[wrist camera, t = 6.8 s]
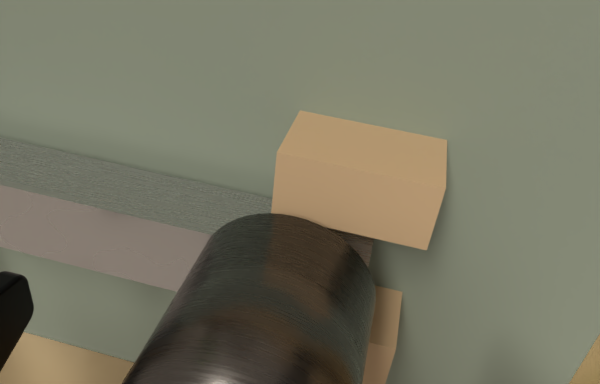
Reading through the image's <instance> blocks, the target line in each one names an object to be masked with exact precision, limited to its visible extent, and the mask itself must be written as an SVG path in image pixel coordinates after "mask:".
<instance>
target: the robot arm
mask: <svg viewBox="0 0 600 384" xmlns="http://www.w3.org/2000/svg"><path fill="white" fill-rule="evenodd" d="M33 311H34V303H33V299H32V295H31V291H30V287H29V283H28V280H27V278H26V277H25V276H24V275H21V274H17V273H13V272H9V271H2V272H0V371H1V370H2V368H3V366H4V364H5V363H6V361H7V359H8V358H9V356H10V354H11V352H12V351H13V349H14V347H15V346H16V344H17V342H18V340H19V339H20V337H21V335H22V334H23V332H24V330H25V328H26V327H27V325H28V323H29V321H30V320H31V318H32V315H33Z"/></svg>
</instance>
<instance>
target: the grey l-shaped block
mask: <svg viewBox="0 0 600 384" xmlns="http://www.w3.org/2000/svg"><path fill="white" fill-rule="evenodd" d="M271 209H272V199H271V198H267V197H262V196H258V195H254V194H249V193H245V192H240V191H236V190H231V189H227V188H222V187H218V186H214V185H209V184H205V183H200V182H196V181H191V180H187V179H182V178H178V177H174V176H169V175H165V174H160V173H156V172H151V171H147V170H142V169H138V168H134V167H129V166H125V165H120V164H116V163H111V162H107V161H102V160H98V159H94V158H89V157H85V156H80V155H76V154H71V153H67V152H62V151H58V150H54V149H49V148H45V147H40V146H36V145H31V144H27V143H22V142H18V141H14V140H9V139H5V138H0V247H3V248H7V249H11V250H15V251H19V252H22V253H26V254H30V255H34V256H38V257H42V258H46V259H50V260H54V261H58V262H62V263H66V264H70V265H74V266H77V267H81V268H85V269H89V270H93V271H97V272H101V273H105V274H109V275H113V276H117V277H121V278H125V279H129V280H132V281H136V282H140V283H144V284H148V285H152V286H156V287H160V288H164V289H168V290H172V291H176V292H177V293H176V295H175V296H174V298H173V300H172V301H171V303H170V305H169V306H168V308H167V310H166V311H165V313H164V315H163V316H162V318H161V320H160V321H159V323H158V325H157V326H156V328H155V330H154V331H153V333H152V335H151V336H150V338H149V339H148V341H147V343H146V344H145V346H144V348H143V349H142V351H141V353H140V354H139V356H138V358H137V359H136V361H135V363H134V364H133V366H132V368H131V369H130V371H129V373H128V374H127V376H126V378H125V379H124V381H123V383H122V384H362V381H363V375H364V369H365V363H366V357H367V351H368V345H369V339H370V333H371V327H372V321H373V316H374V310H375V303H376V290H375V285H374V281H373V278H372V276H371V273H370V271H369V269H368V267H369V261H370V256H371V251H372V246H373V241H374V238H370V237H366V236H362V235H357V234H353V233H348V232H344V231H340V230H335V229H331V228H327V227H323V226H321V225H319V224H316V223H314V222H311V221H309V220H306V219H303V218H299V217H296V216H291V215H285V214H274V213H271Z"/></svg>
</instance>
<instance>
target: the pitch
mask: <svg viewBox="0 0 600 384" xmlns="http://www.w3.org/2000/svg"><path fill="white" fill-rule="evenodd" d="M0 138H5V139H9V140H14V141H18V142H22V143H27V144H31V145H36V146H40V147H45V148H49V149H54V150H58V151H62V152H67V153H71V154H76V155H80V156H85V157H89V158H94V159H98V160H102V161H107V162H111V163H116V164H120V165H125V166H129V167H134V168H138V169H142V170H147V171H151V172H156V173H160V174H165V175H169V176H174V177H178V178H182V179H187V180H191V181H196V182H200V183H205V184H209V185H214V186H218V187H222V188H227V189H231V190H236V191H240V192H245V193H249V194H254V195H258V196H262V197H267V198H271V199H272V209H271V213H274V214H285V215H291V216H296V217H299V218H303V219H306V220H309V221H311V222H314V223H316V224H319V225H321V226H323V227H327V228H331V229H335V230H340V231H344V232H348V233H353V234H357V235H362V236H366V237H370V238H374V241H373V246H372V251H371V256H370V261H369V267H368V269H369V271H370V273H371V276H372V278H373V281H374V285H375V290H376V303H375V310H374V316H373V321H372V327H371V333H370V339H369V345H368V351H367V357H366V363H365V369H364V375H363V381H362V384H569V382H570V381H571V379H572V378H573V376H574V374H575V373H576V371H577V369H578V368H579V366H580V365H581V363H582V361H583V360H584V358H585V357H586V355H587V353H588V352H589V350H590V348H591V347H592V345H593V344H594V342H595V340H596V339H597V337H598V336H599V334H600V0H0ZM2 271H9V272H13V273H17V274H21V275H24V276H25V277H26V278H27V280H28V283H29V287H30V291H31V295H32V299H33V303H34V311H33V315H32V318H31V320H30V321H29V323H28V325H27V327H26V328H25V330H24V332H26V333H30V334H33V335H37V336H40V337H44V338H48V339H51V340H55V341H59V342H62V343H66V344H69V345H73V346H77V347H80V348H84V349H88V350H91V351H95V352H98V353H102V354H106V355H109V356H113V357H117V358H120V359H124V360H127V361H131V362H135V361H136V359H137V358H138V356H139V354H140V353H141V351H142V349H143V348H144V346H145V344H146V343H147V341H148V339H149V338H150V336H151V335H152V333H153V331H154V330H155V328H156V326H157V325H158V323H159V321H160V320H161V318H162V316H163V315H164V313H165V311H166V310H167V308H168V306H169V305H170V303H171V301H172V300H173V298H174V296H175V295H176V293H177V292H176V291H172V290H168V289H164V288H160V287H156V286H152V285H148V284H144V283H140V282H136V281H132V280H129V279H125V278H121V277H117V276H113V275H109V274H105V273H101V272H97V271H93V270H89V269H85V268H81V267H77V266H74V265H70V264H66V263H62V262H58V261H54V260H50V259H46V258H42V257H38V256H34V255H30V254H26V253H22V252H19V251H15V250H11V249H7V248H3V247H0V272H2Z"/></svg>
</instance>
